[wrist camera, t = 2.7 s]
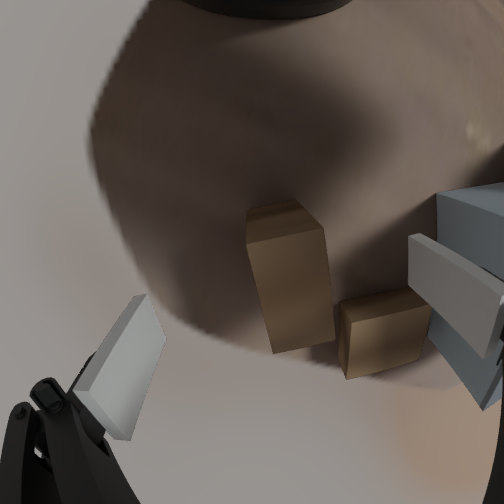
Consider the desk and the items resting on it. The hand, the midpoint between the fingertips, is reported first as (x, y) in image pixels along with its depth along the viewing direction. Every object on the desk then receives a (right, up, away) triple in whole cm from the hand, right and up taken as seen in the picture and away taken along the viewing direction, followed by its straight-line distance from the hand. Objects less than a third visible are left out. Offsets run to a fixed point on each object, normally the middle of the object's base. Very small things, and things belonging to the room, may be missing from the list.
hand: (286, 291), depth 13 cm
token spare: (+8, -4, +7) cm, 12 cm away
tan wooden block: (0, +2, +5) cm, 5 cm away
